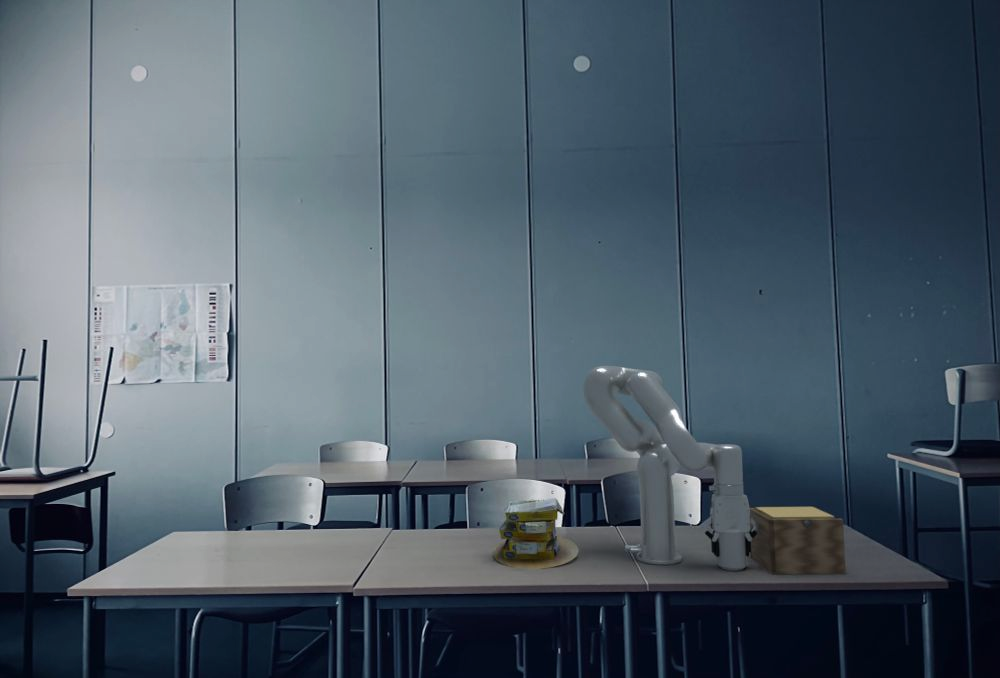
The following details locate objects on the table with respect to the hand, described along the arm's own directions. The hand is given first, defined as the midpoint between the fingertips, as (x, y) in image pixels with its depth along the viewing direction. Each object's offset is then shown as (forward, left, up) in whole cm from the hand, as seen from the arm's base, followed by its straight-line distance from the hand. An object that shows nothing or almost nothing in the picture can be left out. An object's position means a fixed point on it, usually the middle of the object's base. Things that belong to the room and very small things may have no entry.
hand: (731, 554), depth 185 cm
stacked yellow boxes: (-53, +13, -4) cm, 55 cm away
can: (0, 0, -4) cm, 4 cm away
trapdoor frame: (+18, +2, -3) cm, 18 cm away
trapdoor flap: (+18, +2, +10) cm, 21 cm away
